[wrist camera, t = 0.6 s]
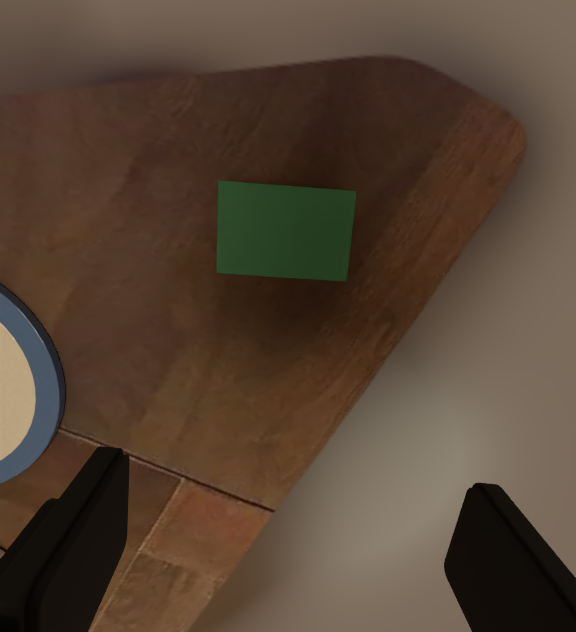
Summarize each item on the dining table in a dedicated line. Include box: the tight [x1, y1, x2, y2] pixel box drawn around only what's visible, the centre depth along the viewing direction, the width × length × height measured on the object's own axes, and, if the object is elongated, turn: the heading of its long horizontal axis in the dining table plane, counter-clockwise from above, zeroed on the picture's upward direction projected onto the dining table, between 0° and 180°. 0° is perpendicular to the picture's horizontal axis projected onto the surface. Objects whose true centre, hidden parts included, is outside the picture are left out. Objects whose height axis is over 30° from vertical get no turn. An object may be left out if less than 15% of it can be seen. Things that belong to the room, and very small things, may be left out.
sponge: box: [216, 180, 357, 282], centre depth 23 cm, size 8×5×4 cm, turn 86°
